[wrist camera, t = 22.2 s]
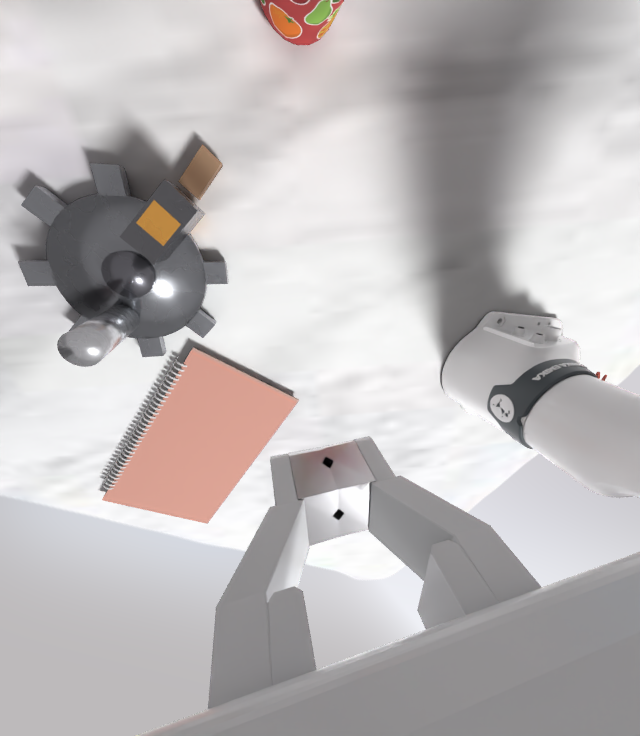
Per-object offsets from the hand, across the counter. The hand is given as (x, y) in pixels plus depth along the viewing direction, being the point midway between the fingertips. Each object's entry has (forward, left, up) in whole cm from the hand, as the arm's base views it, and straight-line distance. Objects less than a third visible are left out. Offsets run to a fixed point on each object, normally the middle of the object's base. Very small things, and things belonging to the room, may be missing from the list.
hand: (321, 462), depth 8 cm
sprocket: (+13, -3, -29) cm, 32 cm away
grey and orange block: (+8, -7, -27) cm, 29 cm away
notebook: (+12, +21, -30) cm, 38 cm away
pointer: (+4, -11, -29) cm, 32 cm away
